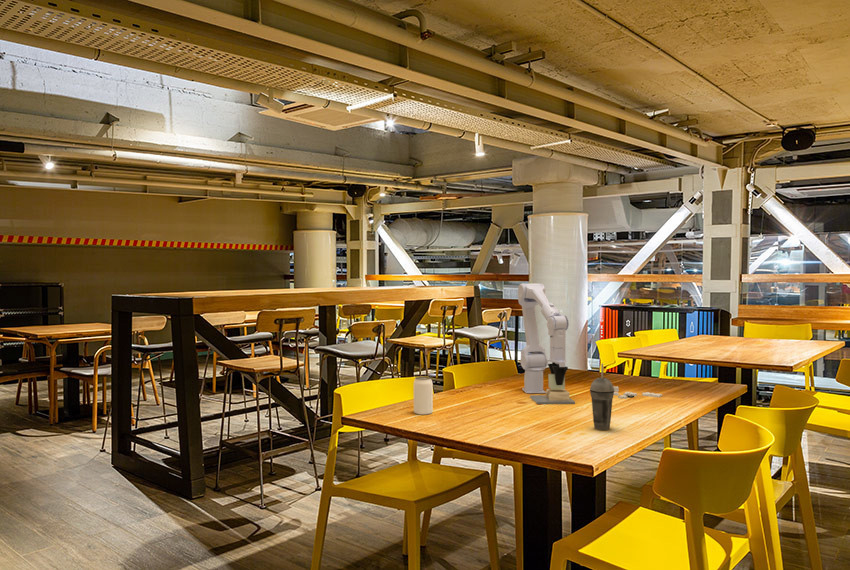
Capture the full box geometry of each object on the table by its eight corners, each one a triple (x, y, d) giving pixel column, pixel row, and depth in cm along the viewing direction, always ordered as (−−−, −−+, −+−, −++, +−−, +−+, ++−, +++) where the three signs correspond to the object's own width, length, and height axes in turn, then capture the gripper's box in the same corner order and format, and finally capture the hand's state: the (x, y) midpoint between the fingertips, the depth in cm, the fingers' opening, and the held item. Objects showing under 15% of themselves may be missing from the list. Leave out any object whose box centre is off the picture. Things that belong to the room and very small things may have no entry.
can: (415, 415, 211) (415, 379, 210) (412, 411, 217) (412, 376, 217) (434, 414, 212) (434, 379, 211) (430, 410, 218) (430, 376, 218)
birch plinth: (546, 397, 239) (546, 389, 239) (564, 396, 239) (564, 389, 239) (550, 400, 232) (550, 392, 232) (569, 400, 232) (569, 392, 232)
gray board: (530, 397, 242) (530, 395, 242) (566, 397, 243) (566, 395, 243) (537, 404, 229) (537, 401, 229) (575, 403, 230) (575, 401, 230)
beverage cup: (613, 426, 195) (613, 362, 194) (615, 432, 187) (615, 365, 187) (589, 425, 196) (589, 361, 196) (589, 430, 189) (590, 364, 189)
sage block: (548, 387, 238) (548, 373, 238) (561, 386, 238) (561, 373, 238) (551, 389, 233) (551, 375, 233) (564, 389, 233) (564, 375, 233)
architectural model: (645, 405, 230) (645, 399, 230) (584, 397, 244) (584, 392, 244) (662, 396, 246) (662, 391, 246) (604, 390, 260) (604, 385, 260)
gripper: (542, 345, 243) (542, 380, 243) (551, 349, 228) (551, 387, 228) (561, 345, 243) (560, 380, 243) (570, 349, 228) (570, 387, 229)
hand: (557, 383), depth 236 cm, fingers closed on sage block, 5 cm apart
